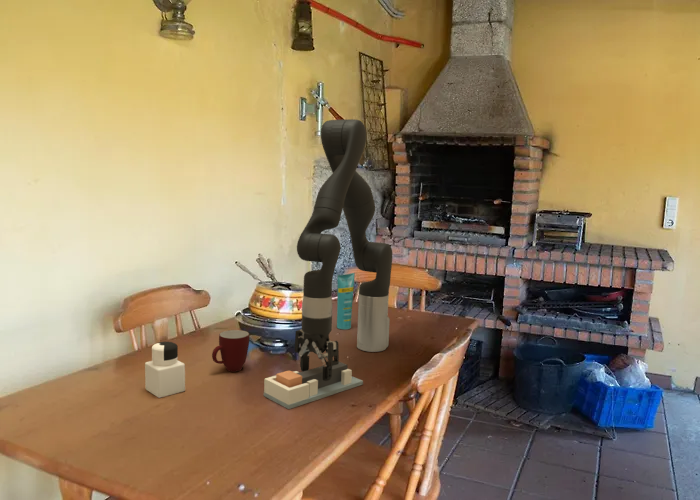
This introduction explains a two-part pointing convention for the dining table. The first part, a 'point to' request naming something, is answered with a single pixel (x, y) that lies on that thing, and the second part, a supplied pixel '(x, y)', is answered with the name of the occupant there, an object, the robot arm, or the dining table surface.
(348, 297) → the tube
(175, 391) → the medicine bottle
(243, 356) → the mug
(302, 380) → the bar
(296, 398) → the clip
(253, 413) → the dining table surface
